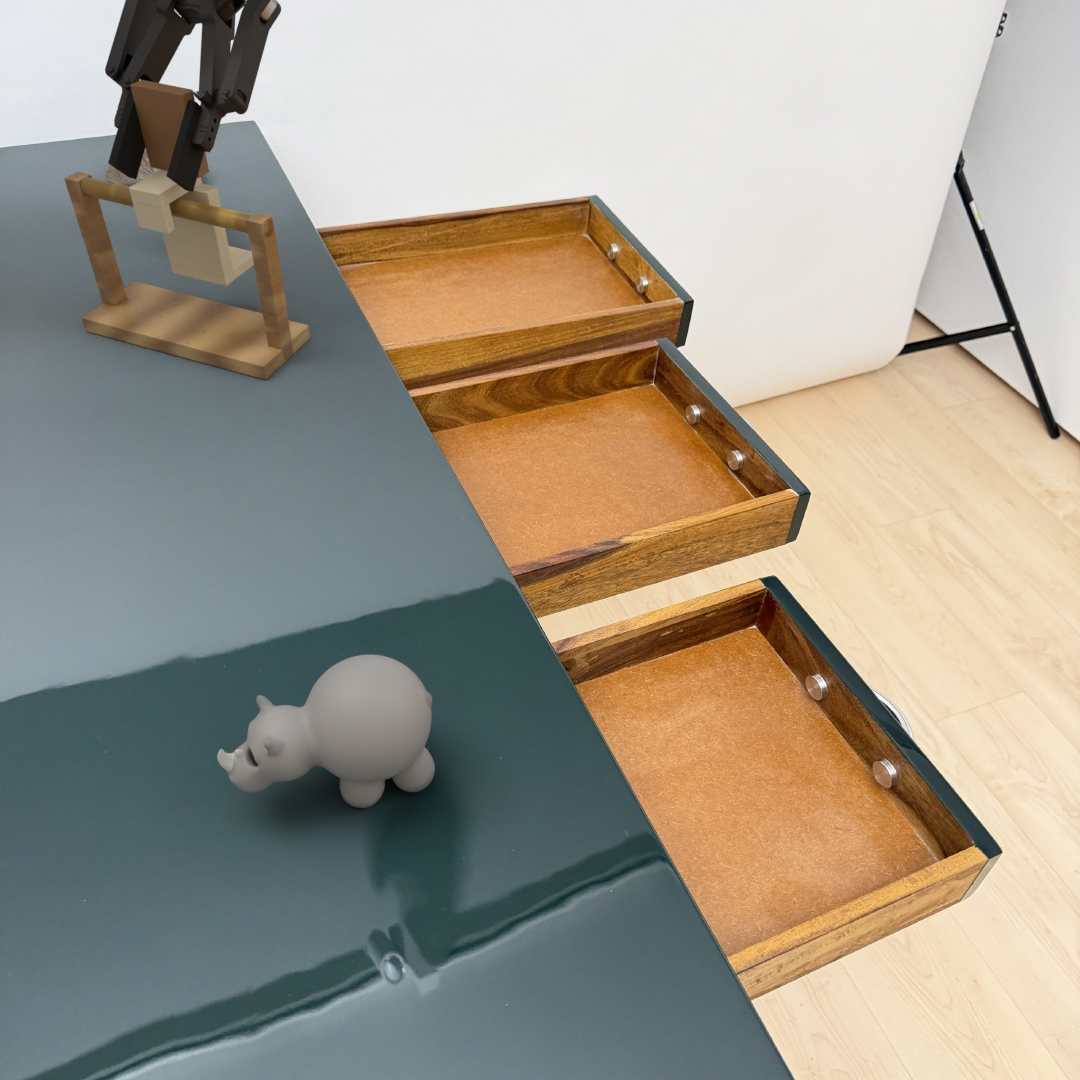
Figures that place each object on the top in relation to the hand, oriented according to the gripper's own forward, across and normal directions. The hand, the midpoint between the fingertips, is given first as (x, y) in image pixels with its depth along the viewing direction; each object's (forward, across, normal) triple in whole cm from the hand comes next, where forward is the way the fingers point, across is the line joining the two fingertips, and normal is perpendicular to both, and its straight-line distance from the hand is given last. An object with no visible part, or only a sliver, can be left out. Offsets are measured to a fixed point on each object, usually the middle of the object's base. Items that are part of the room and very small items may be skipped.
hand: (151, 177), depth 76 cm
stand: (+10, 0, -12) cm, 16 cm away
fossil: (-9, +25, -31) cm, 41 cm away
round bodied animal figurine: (+37, -36, +15) cm, 54 cm away
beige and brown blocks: (+5, 0, -10) cm, 11 cm away
